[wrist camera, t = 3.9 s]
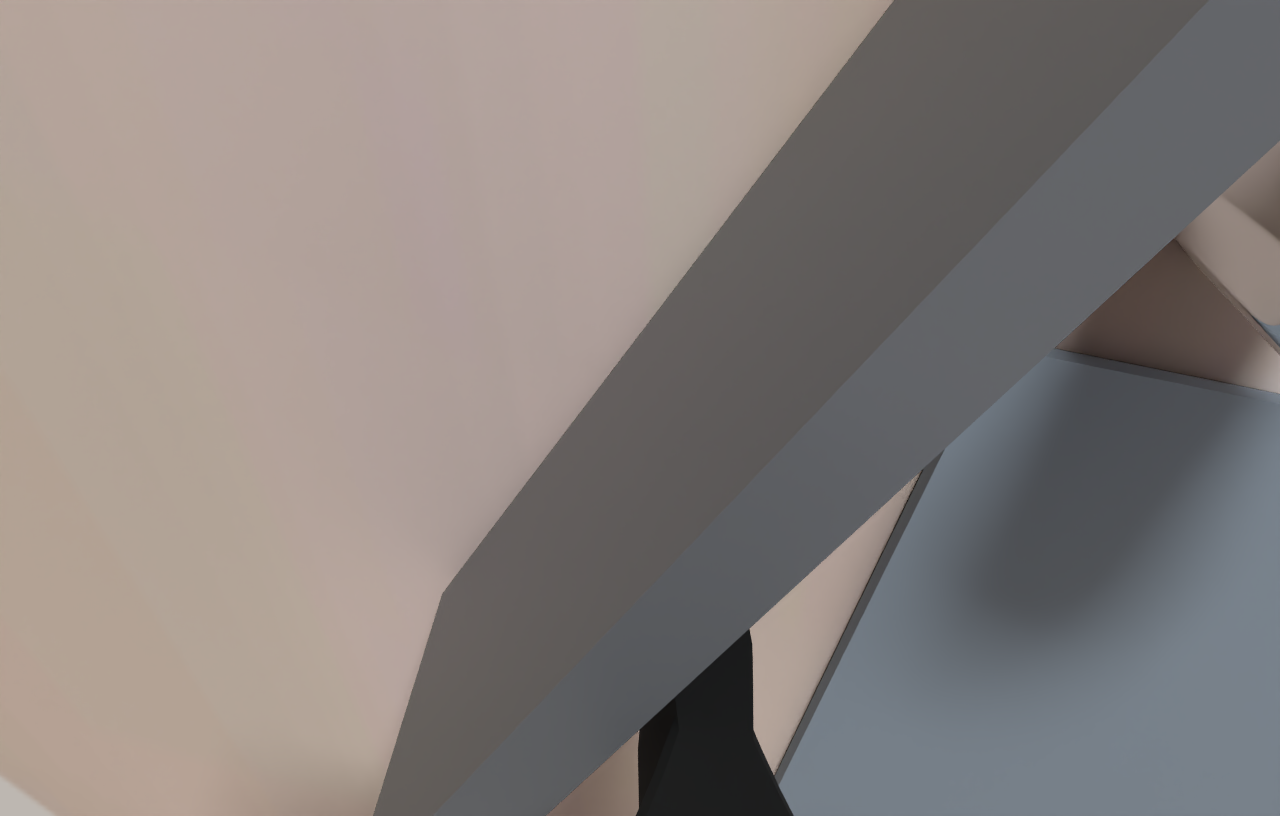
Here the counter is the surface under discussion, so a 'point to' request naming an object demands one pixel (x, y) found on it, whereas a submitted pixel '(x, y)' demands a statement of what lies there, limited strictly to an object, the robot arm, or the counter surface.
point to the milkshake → (1244, 245)
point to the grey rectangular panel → (826, 360)
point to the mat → (1068, 614)
